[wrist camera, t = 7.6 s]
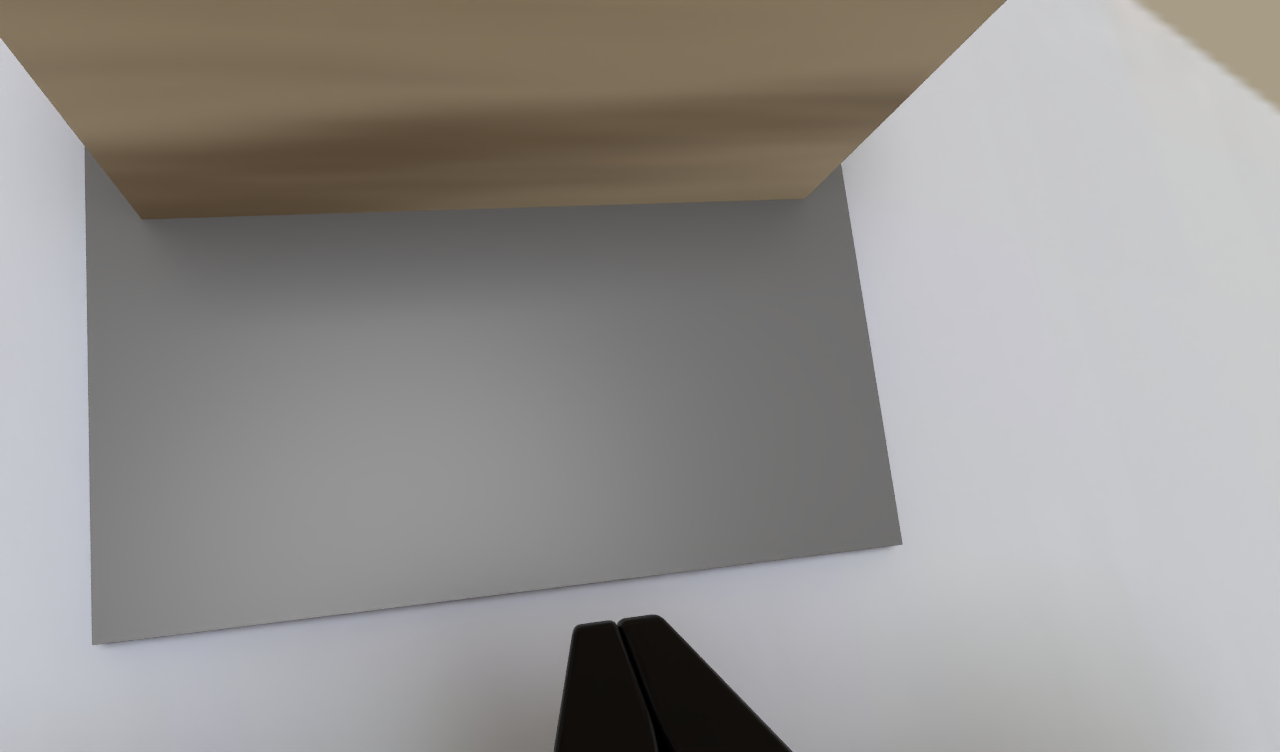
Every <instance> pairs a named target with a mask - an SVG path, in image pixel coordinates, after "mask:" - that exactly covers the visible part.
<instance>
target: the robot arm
mask: <svg viewBox="0 0 1280 752" xmlns="http://www.w3.org/2000/svg"><path fill="white" fill-rule="evenodd" d="M553 752H793V751H792V750H791V749H790V748H789V747H788V746H787V745H786V744H785V743H784V742H783V741H782V740H781V739H780V738H779V737H778V736H777V735H776V734H775V733H774V732H773V731H772V730H771V729H770V728H769V727H768V726H767V725H766V724H765V723H764V722H763V721H762V720H761V719H760V717H759V716H758V715H757V714H756V713H755V712H754V711H753V710H752V709H751V708H750V707H749V706H748V705H747V704H746V703H745V702H744V701H743V700H742V699H741V698H740V697H739V696H738V695H737V694H736V693H735V692H734V691H733V690H732V689H731V688H730V687H729V686H728V685H727V683H726V682H725V681H724V680H723V679H722V678H721V677H720V676H719V675H718V674H717V673H716V672H715V671H714V670H713V669H712V668H711V667H710V666H709V665H708V664H707V663H706V662H705V661H704V660H703V659H702V658H701V657H700V656H699V655H698V654H697V653H696V652H695V651H694V649H693V648H692V647H691V646H690V645H689V644H688V643H687V642H686V641H685V640H684V639H683V638H682V637H681V636H680V635H679V634H678V633H677V632H676V631H675V630H674V629H673V628H672V627H671V626H670V625H669V624H668V623H667V622H666V621H665V620H664V619H663V618H662V617H660V616H658V615H645V616H638V617H631V618H624V619H622V620H620V621H619V622H618V624H617V625H616V623H615V622H613V621H601V622H594V623H586V624H580V625H577V626H576V627H575V628H574V630H573V633H572V639H571V645H570V651H569V658H568V664H567V670H566V676H565V683H564V689H563V695H562V701H561V708H560V714H559V720H558V726H557V733H556V739H555V745H554V751H553Z"/></svg>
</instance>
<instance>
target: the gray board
mask: <svg viewBox="0 0 1280 752" xmlns="http://www.w3.org/2000/svg"><path fill="white" fill-rule="evenodd" d="M85 202H86V269H87V335H88V402H89V469H90V535H91V602H92V645H97V644H105V643H113V642H121V641H130V640H138V639H146V638H154V637H162V636H170V635H178V634H186V633H194V632H202V631H210V630H218V629H226V628H234V627H242V626H250V625H258V624H266V623H274V622H282V621H291V620H299V619H307V618H315V617H323V616H331V615H339V614H347V613H355V612H363V611H371V610H379V609H387V608H395V607H403V606H411V605H419V604H427V603H435V602H444V601H452V600H460V599H468V598H476V597H484V596H492V595H500V594H508V593H516V592H524V591H532V590H540V589H548V588H556V587H564V586H572V585H580V584H588V583H596V582H605V581H613V580H621V579H629V578H637V577H645V576H653V575H661V574H669V573H677V572H685V571H693V570H701V569H709V568H717V567H725V566H733V565H741V564H749V563H757V562H766V561H774V560H782V559H790V558H798V557H806V556H814V555H822V554H830V553H838V552H846V551H854V550H862V549H870V548H878V547H886V546H894V545H902V539H901V533H900V526H899V520H898V514H897V508H896V502H895V495H894V489H893V483H892V477H891V471H890V464H889V458H888V452H887V446H886V440H885V434H884V427H883V421H882V415H881V409H880V403H879V396H878V390H877V384H876V378H875V372H874V366H873V359H872V353H871V347H870V341H869V335H868V328H867V322H866V316H865V310H864V304H863V298H862V291H861V285H860V279H859V273H858V267H857V260H856V254H855V248H854V242H853V236H852V230H851V223H850V217H849V211H848V205H847V199H846V192H845V186H844V180H843V174H842V168H841V164H840V165H839V166H838V167H837V168H836V169H835V170H834V171H833V172H832V173H831V174H830V175H829V176H828V177H827V178H826V179H825V180H823V181H822V182H821V183H820V184H819V185H818V186H817V187H816V188H815V189H814V190H813V191H812V192H811V193H810V194H809V195H808V196H807V197H806V198H805V199H784V200H752V201H719V202H687V203H655V204H623V205H591V206H558V207H526V208H494V209H462V210H430V211H398V212H365V213H333V214H301V215H269V216H237V217H205V218H172V219H141V218H140V216H139V215H138V214H137V213H136V211H135V210H134V209H133V207H132V206H131V205H130V204H129V202H128V201H127V200H126V198H125V197H124V196H123V195H122V193H121V192H120V191H119V189H118V188H117V187H116V186H115V184H114V183H113V182H112V180H111V179H110V178H109V177H108V175H107V174H106V173H105V171H104V170H103V169H102V168H101V166H100V165H99V164H98V162H97V161H96V160H95V159H94V157H93V156H92V155H91V153H90V152H89V151H88V150H87V148H86V147H85Z"/></svg>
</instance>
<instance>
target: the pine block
mask: <svg viewBox="0 0 1280 752" xmlns="http://www.w3.org/2000/svg"><path fill="white" fill-rule="evenodd" d="M1005 1H1006V0H0V38H1V39H2V40H3V41H4V43H5V44H6V45H7V47H8V48H9V49H10V50H11V52H12V53H13V54H14V56H15V57H16V58H17V59H18V61H19V62H20V63H21V65H22V66H23V67H24V68H25V70H26V71H27V72H28V74H29V75H30V76H31V77H32V79H33V80H34V81H35V83H36V84H37V85H38V86H39V88H40V89H41V90H42V92H43V93H44V94H45V95H46V97H47V98H48V99H49V101H50V102H51V103H52V104H53V106H54V107H55V108H56V110H57V111H58V112H59V113H60V115H61V116H62V117H63V119H64V120H65V121H66V122H67V124H68V125H69V126H70V128H71V129H72V130H73V131H74V133H75V134H76V135H77V137H78V138H79V139H80V140H81V142H82V143H83V144H84V146H85V147H86V148H87V150H88V151H89V152H90V153H91V155H92V156H93V157H94V159H95V160H96V161H97V162H98V164H99V165H100V166H101V168H102V169H103V170H104V171H105V173H106V174H107V175H108V177H109V178H110V179H111V180H112V182H113V183H114V184H115V186H116V187H117V188H118V189H119V191H120V192H121V193H122V195H123V196H124V197H125V198H126V200H127V201H128V202H129V204H130V205H131V206H132V207H133V209H134V210H135V211H136V213H137V214H138V215H139V216H140V218H141V219H172V218H205V217H237V216H269V215H301V214H333V213H365V212H398V211H430V210H462V209H494V208H526V207H558V206H591V205H623V204H655V203H687V202H719V201H752V200H784V199H805V198H806V197H807V196H808V195H809V194H810V193H811V192H812V191H813V190H814V189H815V188H816V187H817V186H818V185H819V184H820V183H821V182H822V181H823V180H825V179H826V178H827V177H828V176H829V175H830V174H831V173H832V172H833V171H834V170H835V169H836V168H837V167H838V166H839V165H840V164H841V163H842V162H843V161H844V160H845V159H846V158H847V157H848V156H849V155H850V154H851V153H852V152H853V151H854V150H855V149H856V148H857V147H858V146H859V145H860V144H861V143H862V142H863V141H864V140H865V139H866V138H867V137H868V136H869V135H870V134H871V133H872V132H873V131H874V130H875V129H876V128H877V127H878V126H879V125H880V124H881V123H882V122H883V121H884V120H885V119H886V118H888V117H889V116H890V115H891V114H892V113H893V112H894V111H895V110H896V109H897V108H898V107H899V106H900V105H901V104H902V103H903V102H904V101H905V100H906V99H907V98H908V97H909V96H910V95H911V94H912V93H913V92H914V91H915V90H916V89H917V88H918V87H919V86H920V85H921V84H922V83H923V82H924V81H925V80H926V79H927V78H928V77H929V76H930V75H931V74H932V73H933V72H934V71H935V70H936V69H937V68H938V67H939V66H940V65H941V64H942V63H943V62H944V61H945V60H946V59H947V58H948V57H949V56H951V55H952V54H953V53H954V52H955V51H956V50H957V49H958V48H959V47H960V46H961V45H962V44H963V43H964V42H965V41H966V40H967V39H968V38H969V37H970V36H971V35H972V34H973V33H974V32H975V31H976V30H977V29H978V28H979V27H980V26H981V25H982V24H983V23H984V22H985V21H986V20H987V19H988V18H989V17H990V16H991V15H992V14H993V13H994V12H995V11H996V10H997V9H998V8H999V7H1000V6H1001V5H1002V4H1003V3H1004V2H1005Z"/></svg>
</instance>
